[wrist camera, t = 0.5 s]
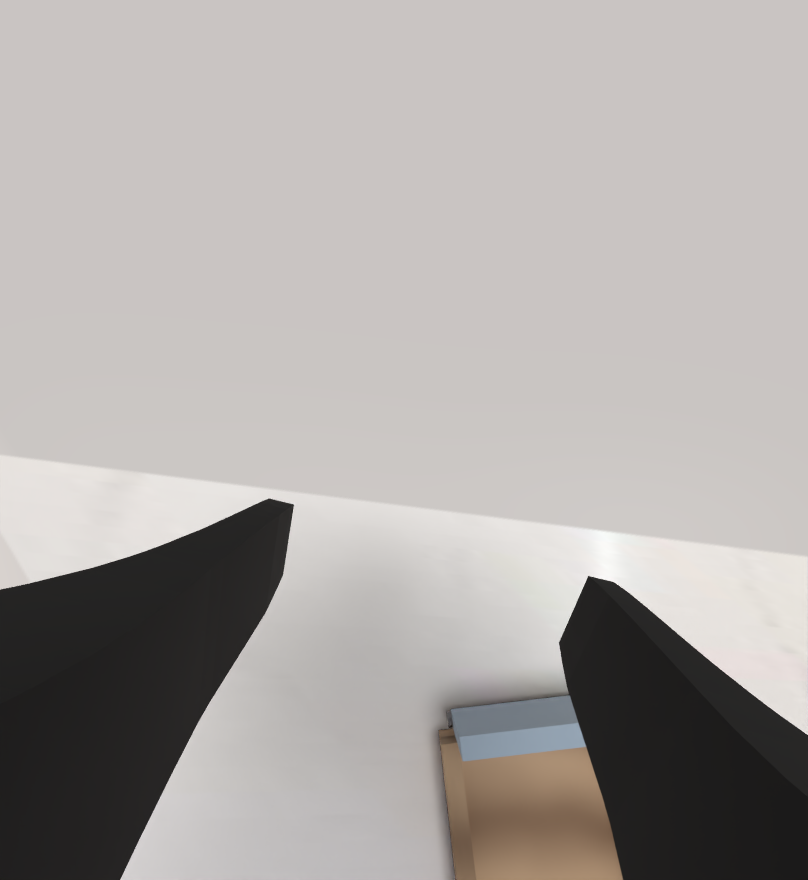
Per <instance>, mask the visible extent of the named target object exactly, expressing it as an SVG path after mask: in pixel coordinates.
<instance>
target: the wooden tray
mask: <svg viewBox="0 0 808 880" xmlns="http://www.w3.org/2000/svg"><path fill="white" fill-rule="evenodd" d="M439 738H440V747H441V756H442V765H443V774H444V782H445V791H446V800H447V809H448V818H449V827H450V836H451V844H452V853H453V862H454V871H455V880H623V877H622V873H621V869H620V864H619V860H618V856H617V851H616V847H615V843H614V838H613V834H612V830H611V826H610V822H609V818H608V815H607V811H606V808H605V804H604V801H603V797H602V794H601V791H600V788H599V785H598V782H597V779H596V776H595V773H594V770H593V767H592V763H591V760H590V757H589V754H588V751H587V748H586V747H581V748H572V749H564V750H555V751H547V752H539V753H530V754H522V755H513V756H505V757H497V758H488V759H480V760H471V761H462V757H461V754H460V750H459V747H458V744H457V740H456V737H455V733H454V730H453V729H445V730H439Z"/></svg>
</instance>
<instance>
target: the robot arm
mask: <svg viewBox="0 0 808 880" xmlns="http://www.w3.org/2000/svg"><path fill="white" fill-rule="evenodd" d="M293 507H294V505H293V504H289V503H285V502H281V501H277V500H273V499H267V500H264V501H262V502H260V503H258V504H255V505H253V506H251V507H249V508H247V509H245V510H243V511H240V512H238V513H236V514H234V515H232V516H230V517H228V518H225V519H223V520H221V521H219V522H217V523H214V524H212V525H210V526H208V527H206V528H203V529H201V530H199V531H196V532H194V533H191V534H189V535H186V536H184V537H181V538H179V539H176V540H174V541H171V542H169V543H166V544H164V545H161V546H159V547H156V548H153V549H150V550H148V551H145V552H142V553H139V554H136V555H133V556H130V557H127V558H123V559H120V560H117V561H114V562H111V563H107V564H104V565H101V566H97V567H94V568H90V569H86V570H82V571H78V572H74V573H70V574H66V575H62V576H58V577H54V578H50V579H46V580H42V581H38V582H34V583H30V584H25V585H21V586H16V587H11V588H6V589H1V590H0V880H120V879H121V877H122V875H123V872H124V870H125V868H126V866H127V864H128V862H129V860H130V858H131V856H132V854H133V851H134V849H135V847H136V845H137V843H138V841H139V839H140V837H141V835H142V833H143V831H144V829H145V827H146V825H147V823H148V821H149V819H150V817H151V815H152V813H153V811H154V808H155V806H156V804H157V802H158V800H159V798H160V796H161V794H162V792H163V790H164V788H165V786H166V784H167V782H168V780H169V778H170V776H171V774H172V772H173V770H174V768H175V766H176V764H177V762H178V760H179V758H180V757H181V755H182V753H183V751H184V749H185V747H186V745H187V743H188V741H189V739H190V737H191V735H192V733H193V731H194V729H195V727H196V725H197V723H198V722H199V720H200V718H201V716H202V715H203V713H204V711H205V709H206V708H207V706H208V704H209V702H210V701H211V699H212V697H213V696H214V694H215V693H216V691H217V690H218V688H219V686H220V685H221V683H222V682H223V680H224V678H225V677H226V675H227V674H228V672H229V670H230V669H231V667H232V666H233V664H234V662H235V661H236V659H237V658H238V656H239V654H240V653H241V651H242V650H243V648H244V647H245V645H246V643H247V642H248V640H249V638H250V637H251V635H252V634H253V632H254V630H255V629H256V627H257V626H258V624H259V622H260V621H261V619H262V617H263V616H264V614H265V612H266V610H267V608H268V606H269V604H270V602H271V600H272V598H273V596H274V594H275V591H276V589H277V587H278V585H279V583H280V580H281V578H282V576H283V571H284V565H285V558H286V552H287V545H288V539H289V533H290V526H291V520H292V513H293ZM559 645H560V651H561V657H562V663H563V669H564V674H565V679H566V684H567V688H568V691H569V695H570V698H571V701H572V704H573V707H574V711H575V714H576V717H577V720H578V723H579V726H580V730H581V733H582V736H583V739H584V742H585V745H586V748H587V751H588V754H589V757H590V760H591V763H592V767H593V770H594V773H595V776H596V779H597V782H598V785H599V788H600V791H601V794H602V797H603V801H604V804H605V808H606V811H607V815H608V818H609V822H610V826H611V830H612V834H613V838H614V843H615V847H616V851H617V856H618V860H619V864H620V869H621V873H622V877H623V880H808V735H807V734H805V733H804V732H802V731H801V730H800V729H798V728H797V727H795V726H794V725H793V724H791V723H790V722H788V721H787V720H786V719H784V718H783V717H781V716H780V715H779V714H777V713H776V712H775V711H773V710H772V709H771V708H769V707H768V706H767V705H765V704H764V703H763V702H761V701H760V700H759V699H757V698H756V697H755V696H753V695H752V694H751V693H750V692H748V691H747V690H746V689H744V688H743V687H742V686H741V685H739V684H738V683H737V682H736V681H734V680H733V679H732V678H730V677H729V676H728V675H727V674H725V673H724V672H723V671H722V670H720V669H719V668H718V667H717V666H715V665H714V664H713V663H712V662H711V661H709V660H708V659H707V658H706V657H704V656H703V655H702V654H701V653H700V652H698V651H697V650H696V649H695V648H694V647H692V646H691V645H690V644H689V643H688V642H687V641H685V640H684V639H683V638H682V637H681V636H679V635H678V634H677V633H676V632H675V631H674V630H672V629H671V628H670V627H669V626H668V625H667V624H665V623H664V622H663V621H662V620H661V619H659V618H658V617H657V616H656V615H655V614H654V613H652V612H651V611H650V610H649V609H648V608H646V607H645V606H644V605H643V604H642V603H640V602H639V601H638V600H637V599H636V598H634V597H633V596H632V595H631V594H629V593H628V592H627V591H625V590H624V589H623V588H621V587H620V586H618V585H617V584H616V583H614V582H611V581H607V580H602V579H598V578H594V577H590V576H588V578H587V580H586V583H585V585H584V587H583V590H582V592H581V594H580V596H579V599H578V601H577V603H576V606H575V608H574V610H573V612H572V615H571V617H570V619H569V621H568V624H567V626H566V628H565V631H564V633H563V635H562V637H561V640H560V642H559Z"/></svg>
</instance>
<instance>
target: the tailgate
mask: <svg viewBox="0 0 808 880" xmlns="http://www.w3.org/2000/svg"><path fill="white" fill-rule="evenodd" d="M447 720H448V726H449V728H452V727H453V730H454V733H455V737H456V740H457V744H458V747H459V750H460V754H461V757H462V761H471V760H480V759H488V758H497V757H505V756H513V755H522V754H530V753H539V752H547V751H555V750H564V749H572V748H581V747H586V745H585V742H584V739H583V736H582V733H581V730H580V726H579V723H578V720H577V717H576V714H575V711H574V707H573V704H572V701H571V698H570V695H568V696H559V697H551V698H542V699H534V700H525V701H516V702H508V703H499V704H491V705H482V706H474V707H465V708H457V709H451V711H447Z"/></svg>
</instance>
